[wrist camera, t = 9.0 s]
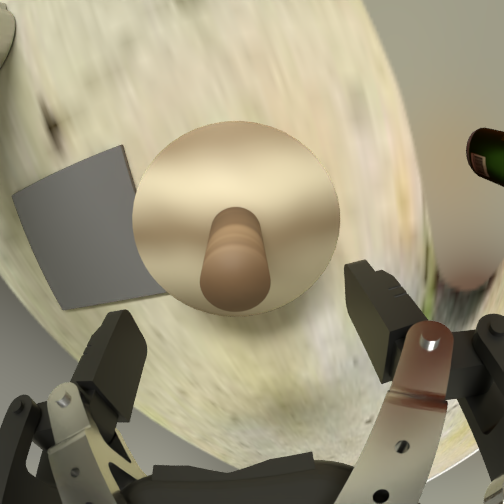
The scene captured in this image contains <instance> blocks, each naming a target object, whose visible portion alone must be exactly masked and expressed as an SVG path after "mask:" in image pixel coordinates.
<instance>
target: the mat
mask: <svg viewBox="0 0 504 504" xmlns="http://www.w3.org/2000/svg"><path fill="white" fill-rule="evenodd" d="M135 196H136V188H135V185H134V182H133V179H132V175H131V172H130V169H129V165H128V162H127V158H126V155H125V151H124V148H123V145H120V146H117V147H114V148H112V149H109V150H106V151H104V152H101V153H99V154H96V155H94V156H92V157H89V158H87V159H84V160H82V161H80V162H78V163H75V164H73V165H71V166H69V167H66V168H64V169H62V170H60V171H58V172H56V173H54V174H52V175H50V176H48V177H45V178H43V179H41V180H40V181H38V182H36V183H34V184H32V185H30V186H28V187H26V188H24V189H22V190H21V191H19V192H17V193H15V194H13V195H12V199H13V202H14V204H15V207H16V210H17V213H18V216H19V218H20V221H21V224H22V226H23V229H24V231H25V234H26V236H27V239H28V241H29V243H30V246H31V248H32V250H33V253H34V255H35V257H36V259H37V262H38V264H39V266H40V268H41V270H42V272H43V274H44V276H45V278H46V280H47V282H48V284H49V286H50V288H51V290H52V292H53V294H54V296H55V297H56V299H57V301H58V303H59V305H60V306H61V308H62V310H68V309H74V308H80V307H86V306H92V305H98V304H104V303H109V302H115V301H121V300H126V299H132V298H137V297H143V296H148V295H154V294H159V293H165V292H166V291H165V290H164V289H163V288H162V287H161V286H160V285H159V284H158V283H157V282H156V280H155V279H154V278H153V277H152V276H151V274H150V273H149V271H148V270H147V268H146V267H145V265H144V263H143V261H142V259H141V257H140V255H139V253H138V249H137V246H136V243H135V239H134V233H133V223H132V214H133V205H134V199H135Z"/></svg>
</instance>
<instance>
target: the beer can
mask: <svg viewBox="0 0 504 504" xmlns="http://www.w3.org/2000/svg"><path fill="white" fill-rule="evenodd" d="M466 154H467V160H468V163H469V165H470V167H471V169H472V170H473V171H474V172H475V173H476V174H477V175H478V176H479V177H482V178H484V179H487V180H489V181H492V182H494V183H496V184H498V185H501V186H503V187H504V132H503V131H498V130H494V129H489V128H480V129H477V130H476V131H474V132H473V133H472V134H471V136H470V137H469V139H468V142H467V147H466Z"/></svg>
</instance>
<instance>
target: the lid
mask: <svg viewBox="0 0 504 504" xmlns="http://www.w3.org/2000/svg"><path fill="white" fill-rule="evenodd" d="M132 223H133V233H134V239H135V243H136V246H137V249H138V253H139V255H140V257H141V259H142V261H143V263H144V265H145V267H146V268H147V270H148V271H149V273H150V274H151V276H152V277H153V278H154V279H155V280H156V282H157V283H158V284H159V285H160V286H161V287H162V288H163V289H164V290H165V291H166V292H168V293H169V294H170V295H172V296H173V297H174V298H176V299H177V300H179V301H181V302H183V303H184V304H186V305H188V306H190V307H193V308H195V309H197V310H200V311H204V312H207V313H211V314H216V315H221V316H250V315H257V314H261V313H265V312H269V311H272V310H274V309H277V308H280V307H282V306H284V305H286V304H288V303H290V302H291V301H293V300H294V299H296V298H298V297H299V296H301V295H302V294H303V293H304V292H305V291H307V290H308V289H309V288H310V287H311V286H312V285H313V284H314V283H315V282H316V281H317V280H318V278H319V277H320V276H321V274H322V273H323V272H324V270H325V269H326V267H327V265H328V263H329V262H330V260H331V258H332V255H333V253H334V250H335V248H336V244H337V240H338V236H339V228H340V208H339V203H338V197H337V194H336V191H335V188H334V185H333V182H332V180H331V178H330V176H329V174H328V172H327V171H326V169H325V168H324V166H323V165H322V163H321V162H320V160H319V159H318V158H317V157H316V156H315V155H314V154H313V153H312V152H311V151H310V150H309V149H308V148H307V147H306V146H304V145H303V144H302V143H301V142H300V141H298V140H297V139H295V138H293V137H292V136H290V135H288V134H287V133H285V132H282V131H280V130H278V129H275V128H273V127H270V126H266V125H262V124H258V123H253V122H244V121H228V122H220V123H214V124H209V125H206V126H203V127H200V128H197V129H194V130H192V131H190V132H188V133H186V134H184V135H182V136H181V137H179V138H178V139H176V140H175V141H173V142H172V143H170V144H169V145H168V146H167V147H166V148H165V149H163V150H162V151H161V152H160V153H159V154H158V155H157V156H156V158H155V159H154V160H153V161H152V163H151V164H150V165H149V167H148V168H147V170H146V172H145V173H144V175H143V177H142V179H141V181H140V184H139V186H138V189H137V192H136V196H135V199H134V205H133V214H132Z"/></svg>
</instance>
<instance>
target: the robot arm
mask: <svg viewBox="0 0 504 504" xmlns="http://www.w3.org/2000/svg"><path fill="white" fill-rule="evenodd" d="M14 32H15V20H14V16H13V14H12V13H11V12H9V11H8V10H6V4H5V3H1V2H0V68H1V66H2V64H3V63H4V61H5V59H6V57H7V55H8V53H9V50H10V47H11V45H12V41H13V37H14ZM344 276H345V297H346V306H347V310H348V314H349V316H350V318H351V320H352V322H353V324H354V326H355V328H356V330H357V333H358V335H359V337H360V339H361V341H362V343H363V345H364V347H365V349H366V351H367V353H368V356H369V358H370V360H371V362H372V364H373V366H374V368H375V371H376V373H377V375H378V377H379V379H380V382H381V384H383V383H386V382H389V381H392V384H391V387H390V390H388V392H387V394H386V396H385V399H384V401H383V404H382V407H381V409H380V412H379V414H378V417H377V419H376V421H375V424H374V426H373V428H372V431H371V433H370V435H369V438H368V440H367V442H366V444H365V446H364V448H363V451H362V453H361V455H360V457H359V459H358V461H357V463H356V465H355V467H353V466H350V465H347V464H344V463H339V462H334V461H325V460H314V459H313V454H312V452H307V453H302V454H297V455H292V456H287V457H281V458H274V459H269V460H267V461H264V462H261V463H258V464H255V465H253V466H250V467H247V468H244V469H240V470H237V471H234V472H231V473H223V472H217V471H212V470H207V469H202V468H197V467H192V466H167V465H166V466H165V465H154V466H153V474H152V475H149V476H147V475H146V474H145V473H144V472H143V471H142V470H141V469H140V467H139V466H138V464H137V463H136V461H135V459H134V458H133V456H132V454H131V452H130V450H129V449H128V447H127V445H126V443H125V442H124V439H123V437H122V436H121V434H120V432H119V431H118V430H117V429H116V424H117V422H129V421H130V418H131V413H132V409H133V405H134V401H135V397H136V393H137V389H138V385H139V382H140V378H141V374H142V370H143V367H144V363H145V360H146V356H147V344H146V341H145V339H144V337H143V335H142V333H141V332H140V330H139V328H138V326H137V324H136V323H135V321H134V319H133V317H132V315H131V314H130V312H129V311H128V310H120V311H114V312H109V313H108V314H107V315H106V317H105V319H104V321H103V323H102V325H101V327H99V328H98V330H97V331H96V332H95V333H94V334H93V335H92V336H91V339H90V341H89V343H88V345H87V347H86V349H85V351H84V353H83V354H84V355H82V357H81V359H80V361H79V363H78V366H77V368H76V370H75V372H74V374H73V377H72V379H71V381H70V382H66V383H62V384H60V385H58V386H57V387H56V388H55V389H54V390H53V391H52V392H51V393H50V395H49V397H48V401H45V402H42V403H38V404H36V403H35V402H34V401H33V400H32V399H31V398H30V397H29V396H28V395H21V396H19V397H17V398H16V399H14V400H13V402H12V403H11V405H10V406H9V408H8V410H7V413H6V415H5V418H4V420H3V423H2V425H1V428H0V504H420V503H418V502H419V499H420V497H421V494H422V492H423V489H424V487H425V484H426V481H427V479H428V476H429V473H430V470H431V467H432V464H433V461H434V458H435V455H436V451H437V448H438V444H439V441H440V437H441V433H442V429H443V425H444V421H445V417H446V412H447V406H448V402H447V401H445V400H450V399H457V400H458V402H459V404H460V406H461V409H462V411H463V413H464V415H465V417H466V419H467V422H468V424H469V426H470V428H471V431H472V433H473V435H474V438H475V440H476V442H477V445H478V447H479V450H480V452H481V455H482V457H483V460H484V462H485V465H486V468H487V470H488V473H489V476H490V479H491V484H490V485H489V486H488V488H487V490H486V493H485V496H484V504H504V316H502V315H499V314H488V315H485V316H483V317H482V318H481V319H480V320H479V322H478V324H477V327H476V330H468V331H460V332H451V331H450V329H449V328H448V327H447V326H445V325H444V324H442V323H440V322H437V321H431V320H428V319H427V318H426V317H425V315H424V314H423V313H422V311H421V310H420V309H419V307H418V306H417V305H416V304H415V302H414V301H413V300H412V298H411V297H410V296H409V295H408V294H407V293H406V291H405V290H404V288H403V287H401V285H400V283H399V282H398V281H397V280H396V279H395V277H394V276H392V275H391V274H389V273H387V272H385V271H383V270H379V271H376V272H375V271H374V269H373V268H372V267H371V266H370V264H369V263H368V262H367V261H366V260H361V261H357V262H353V263H349V264H345V266H344ZM32 441H33V442H34V443H35V444H36V445H38V446H39V447H40V448H41V449H42V450H43V451H42V455H41V458H40V462H39V466H38V470H37V474H36V477H34V476H33V475H31V474H30V473H29V472H28V470H27V468H26V459H27V455H28V452H29V449H30V446H31V442H32Z"/></svg>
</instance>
